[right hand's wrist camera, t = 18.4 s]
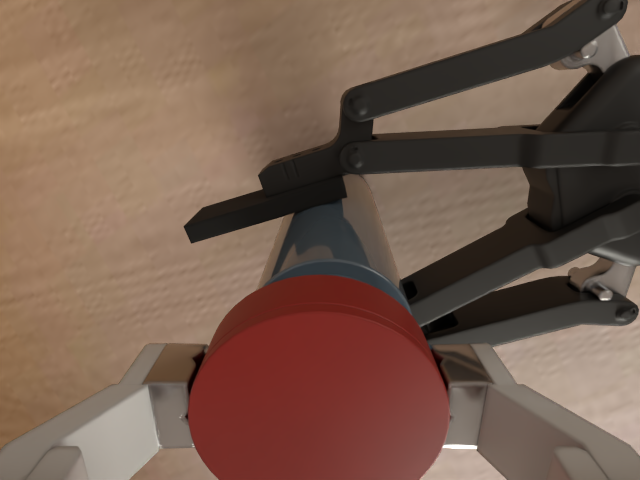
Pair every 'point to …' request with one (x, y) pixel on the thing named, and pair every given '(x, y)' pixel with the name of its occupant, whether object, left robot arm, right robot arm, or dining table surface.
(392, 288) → the jar
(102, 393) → the right robot arm
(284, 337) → the lid
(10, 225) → the dining table surface
